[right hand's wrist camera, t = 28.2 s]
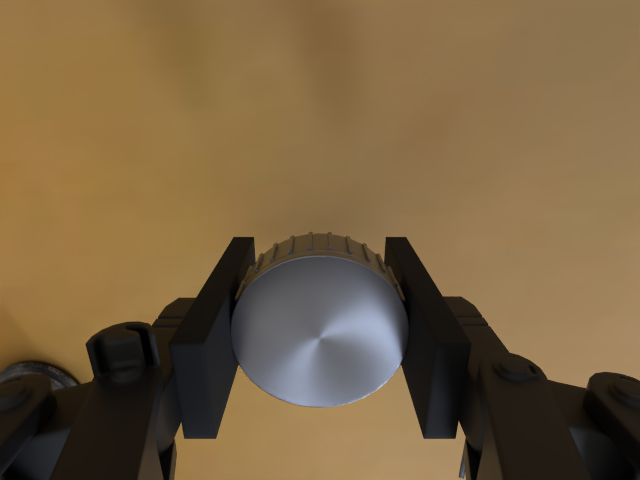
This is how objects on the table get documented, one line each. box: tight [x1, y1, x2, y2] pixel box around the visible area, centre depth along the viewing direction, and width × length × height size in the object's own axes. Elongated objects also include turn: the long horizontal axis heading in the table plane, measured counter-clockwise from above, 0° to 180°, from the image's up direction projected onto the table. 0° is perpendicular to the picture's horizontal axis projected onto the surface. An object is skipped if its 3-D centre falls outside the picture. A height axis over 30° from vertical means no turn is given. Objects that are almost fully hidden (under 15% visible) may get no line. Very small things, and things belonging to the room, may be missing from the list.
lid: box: [230, 232, 409, 407], centre depth 11 cm, size 5×5×2 cm
